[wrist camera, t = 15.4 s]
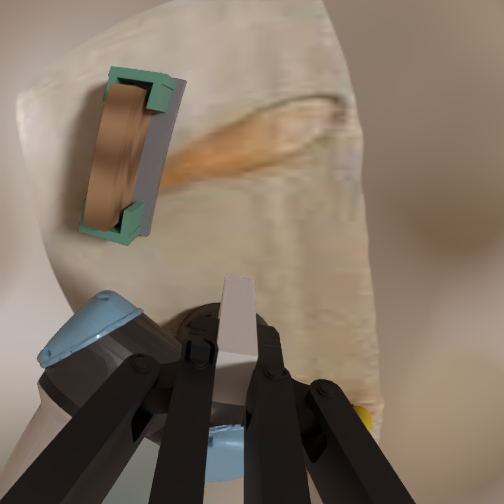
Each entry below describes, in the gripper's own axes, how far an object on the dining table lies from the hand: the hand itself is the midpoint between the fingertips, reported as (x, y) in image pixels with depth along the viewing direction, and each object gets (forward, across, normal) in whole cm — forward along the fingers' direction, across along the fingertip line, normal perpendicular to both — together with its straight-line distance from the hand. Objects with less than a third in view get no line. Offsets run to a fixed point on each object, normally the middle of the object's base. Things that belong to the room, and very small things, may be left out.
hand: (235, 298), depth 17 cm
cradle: (+26, +15, -4) cm, 30 cm away
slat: (+24, +15, -4) cm, 29 cm away
